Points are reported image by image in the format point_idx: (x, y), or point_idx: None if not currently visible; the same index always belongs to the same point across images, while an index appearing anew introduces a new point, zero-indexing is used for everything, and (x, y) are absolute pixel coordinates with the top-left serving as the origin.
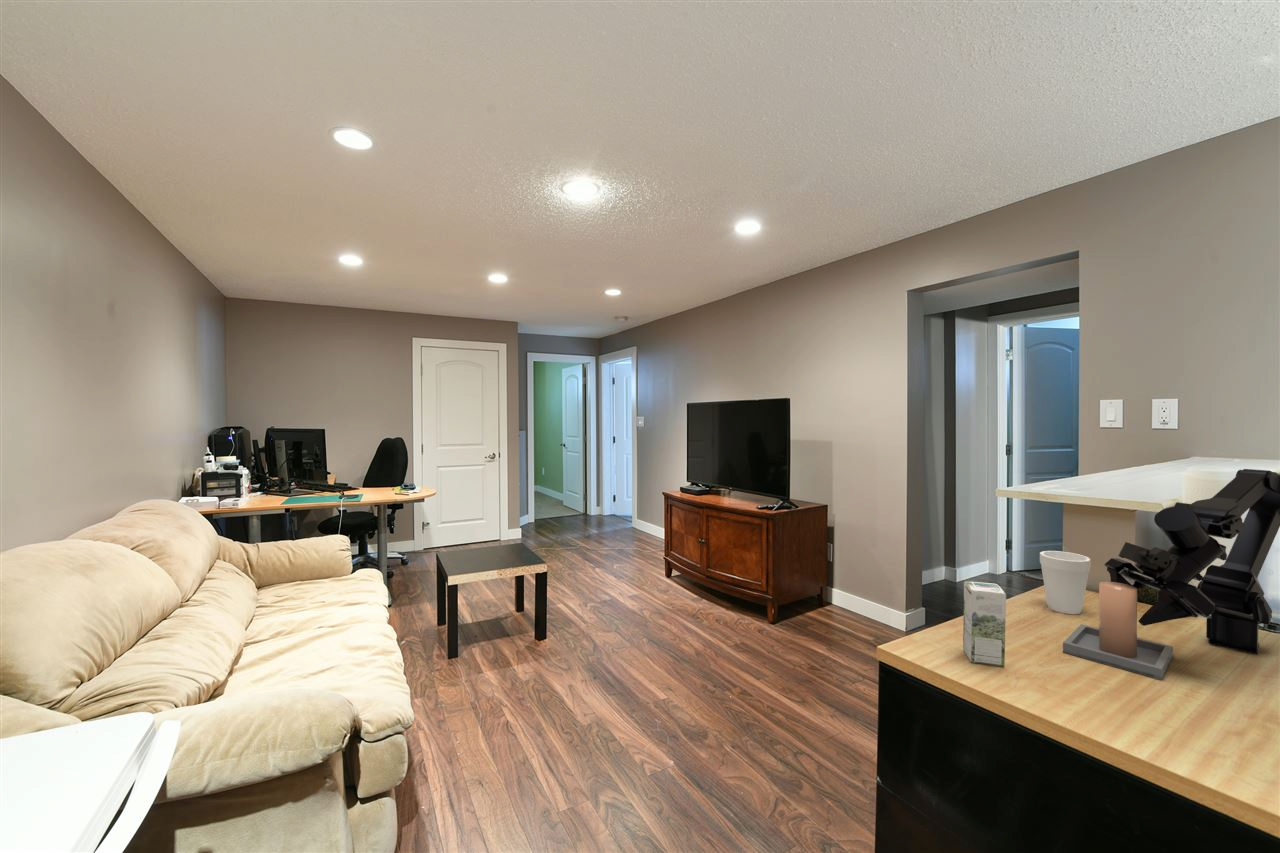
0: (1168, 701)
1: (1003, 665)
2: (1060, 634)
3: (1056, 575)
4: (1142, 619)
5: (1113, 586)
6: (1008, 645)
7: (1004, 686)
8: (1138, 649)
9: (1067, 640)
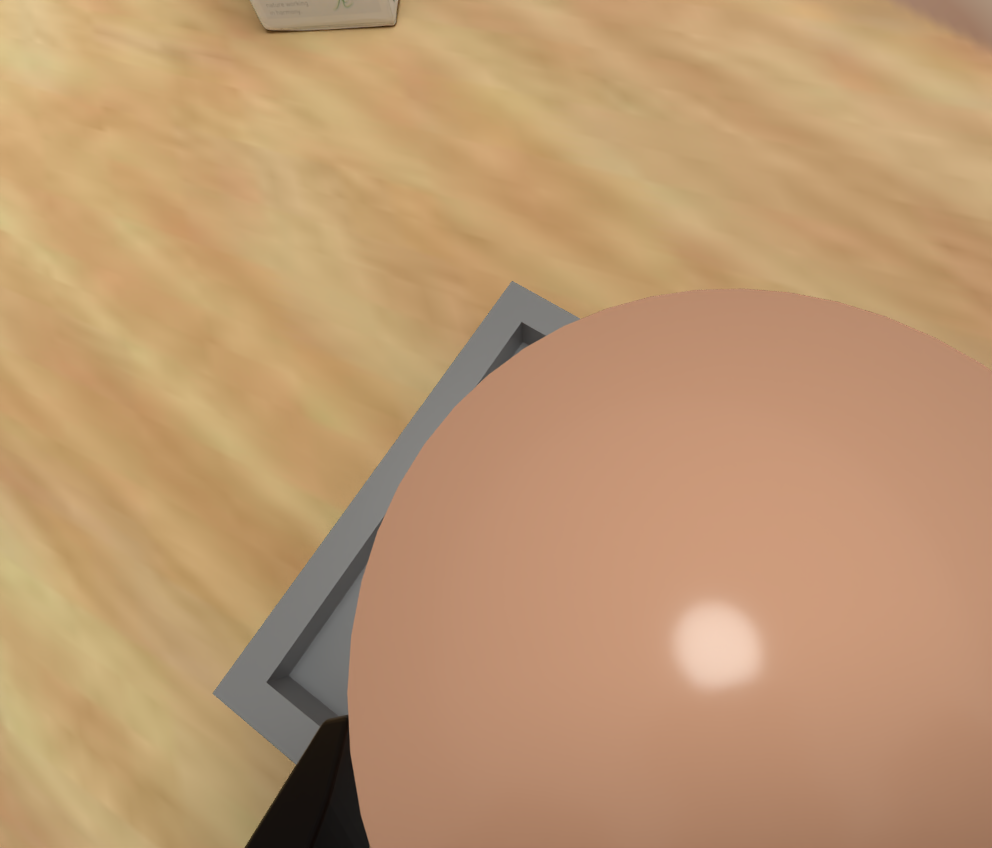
0: (18, 571)
1: (260, 21)
2: None
3: None
4: (308, 753)
5: (669, 519)
6: (528, 97)
7: (99, 2)
8: None
9: (558, 317)
